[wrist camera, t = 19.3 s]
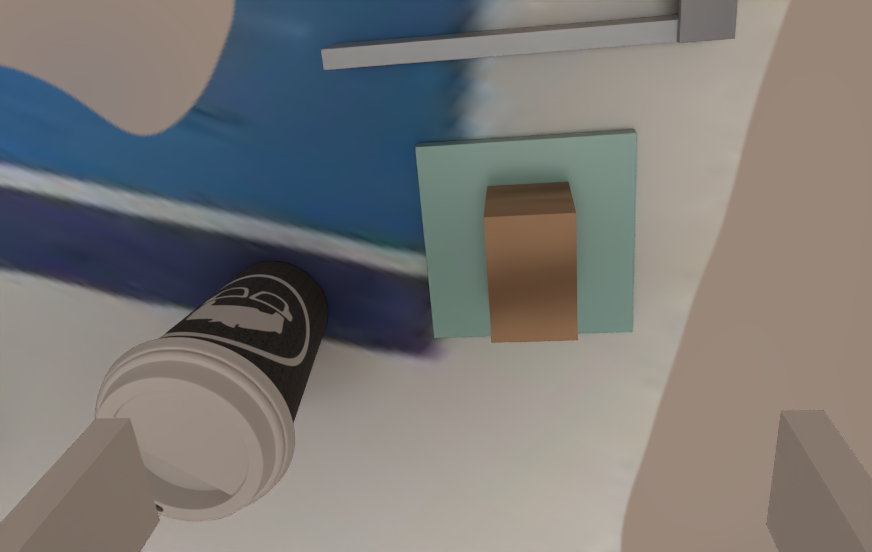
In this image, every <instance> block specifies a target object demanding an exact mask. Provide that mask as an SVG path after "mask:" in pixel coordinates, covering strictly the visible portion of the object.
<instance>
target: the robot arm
mask: <svg viewBox="0 0 872 552" xmlns="http://www.w3.org/2000/svg"><path fill="white" fill-rule="evenodd" d="M159 521H160V519H159V516H158V512H157V509H156V505H155V502H154V498H153V495H152V491H151V488H150V485H149V481H148V478H147V474H146V471H145V467H144V464H143V460H142V457H141V454H140V450H139V447H138V443H137V440H136V436H135V433H134V429H133V426H132V423H131V419H130V418H96V419H95V420H94V421H93V423H92V424H91V425H90V426H89V427H88V428H87V429H86V430H85V431H84V432H83V433H82V435H81V436H80V437H79V438H78V439H77V440H76V441H75V442H74V443H73V444H72V446H71V447H70V448H69V449H68V450H67V451H66V452H65V453H64V454H63V455H62V456H61V458H60V459H59V460H58V461H57V462H56V463H55V464H54V465H53V466H52V467H51V468H50V470H49V471H48V472H47V473H46V474H45V475H44V476H43V477H42V478H41V479H40V480H39V482H38V483H37V484H36V485H35V486H34V487H33V488H32V489H31V490H30V491H29V493H28V494H27V495H26V496H25V497H24V498H23V499H22V500H21V501H20V502H19V503H18V505H17V506H16V507H15V508H14V509H13V510H12V511H11V512H10V513H9V514H8V515H7V517H6V518H5V519H4V520H3V521H2V522H1V523H0V552H140V551H141V549H142V548H143V546H144V545H145V543H146V541H147V540H148V538H149V537H150V535H151V534H152V532H153V530H154V529H155V527H156V526H157V524H158V522H159ZM766 525H767V527H768V529H769V531H770V533H771V536H772V538H773V540H774V542H775V544H776V546H777V549H778V551H779V552H872V479H871V477H870V476H869V474H868V473H867V471H866V470H865V469H864V467H863V466H862V464H861V463H860V461H859V460H858V459H857V457H856V456H855V454H854V453H853V451H852V450H851V449H850V447H849V446H848V444H847V443H846V441H845V440H844V439H843V437H842V436H841V434H840V433H839V431H838V430H837V429H836V427H835V426H834V424H833V423H832V422H831V420H830V419H829V417H828V416H827V414H826V413H825V411H824V410H797V411H796V410H795V411H794V410H789V411H788V410H787V411H781V414H780V422H779V429H778V437H777V446H776V453H775V461H774V469H773V476H772V484H771V492H770V500H769V508H768V515H767V523H766Z"/></svg>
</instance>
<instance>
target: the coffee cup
mask: <svg viewBox="0 0 872 552" xmlns="http://www.w3.org/2000/svg"><path fill="white" fill-rule="evenodd" d="M327 320H328V306H327V302H326V299H325V296H324V294H323V292H322V290H321V288H320V287H319V285H318V284H317V283H316V281H315V280H314V279H313V278H312V277H311V276H309V275H308V274H307V273H306V272H304V271H303V270H301V269H299V268H297V267H295V266H293V265H290V264H287V263H283V262H277V261H267V262H261V263H257V264H254V265H252V266H250V267H248V268H246V269H245V270H244V271H242V272H241V273H240V274H238V275H237V276H236V277H235V278H234V279H232V280H231V281H230V282H229V283H227V284H226V285H225V286H224V287H222V288H221V289H220V290H219V291H218V292H216V293H215V294H214V295H213V296H211V297H210V298H209V299H208V300H206V301H205V302H204V303H203V304H202V305H200V306H199V307H198V308H197V309H195V310H194V311H193V312H192V313H190V314H189V315H188V316H187V317H185V318H184V319H183V320H182V321H180V322H179V323H178V324H177V325H175V326H174V327H173V328H172V329H170V330H169V331H168V332H167V333H165V334H164V335H163V336H162V337H160V338H159V339H156V340H151V341H148V342H145V343H142V344H140V345H138V346H136V347H134V348H132V349H130V350H129V351H127V352H126V353H124V354H123V355H122V356H121V357H120V358H119V359H118V360H117V361H116V362H115V363H114V364H113V365H112V367H111V368H110V370H109V371H108V373H107V375H106V377H105V379H104V381H103V383H102V385H101V388H100V391H99V394H98V398H97V403H96V410H95V419H96V418H130V419H131V423H132V426H133V429H134V433H135V436H136V440H137V443H138V447H139V450H140V454H141V457H142V460H143V464H144V467H145V471H146V474H147V478H148V481H149V485H150V488H151V491H152V495H153V498H154V502H155V505H156V509H157V512H158V514H160V515H163V516H166V517H170V518H174V519H178V520H185V521H210V520H215V519H220V518H223V517H226V516H228V515H231V514H233V513H235V512H237V511H238V510H240V509H241V508H243V507H245V506H247V505H249V504H251V503H253V502H255V501H256V500H258V499H259V498H261V497H262V496H264V495H265V494H266V493H267V492H269V491H270V490H271V489H272V488H273V487H274V486H275V485H276V484H277V483H278V482H279V480H280V479H281V478H282V477H283V475H284V474H285V472H286V471H287V469H288V467H289V465H290V462H291V460H292V456H293V452H294V446H295V432H294V425H293V423H294V420H295V417H296V414H297V411H298V408H299V405H300V402H301V399H302V396H303V393H304V390H305V387H306V384H307V381H308V378H309V375H310V372H311V369H312V366H313V363H314V360H315V357H316V354H317V351H318V348H319V345H320V342H321V339H322V336H323V333H324V330H325V327H326V324H327Z"/></svg>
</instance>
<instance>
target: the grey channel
mask: <svg viewBox="0 0 872 552" xmlns="http://www.w3.org/2000/svg"><path fill="white" fill-rule="evenodd" d="M736 14H737V0H679V6H678V15H667V16H656V17H644V18H632V19H620V20H608V21H597V22H585V23H573V24H561V25H549V26H538V27H526V28H514V29H502V30H490V31H479V32H467V33H455V34H443V35H431V36H420V37H408V38H396V39H384V40H373V41H361V42H349V43H337V44H333V45H331V46H328V47H326V48H324V49H321V53H322V60H323V67H324V70H330V69H342V68H355V67H367V66H380V65H392V64H405V63H417V62H430V61H442V60H454V59H467V58H479V57H492V56H504V55H517V54H529V53H542V52H554V51H567V50H579V49H592V48H604V47H617V46H629V45H642V44H654V43H666V42H679V43H685V42H697V41H710V40H722V39H735V28H736Z"/></svg>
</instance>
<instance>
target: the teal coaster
mask: <svg viewBox="0 0 872 552" xmlns="http://www.w3.org/2000/svg"><path fill="white" fill-rule="evenodd" d="M636 140H637V133H636V131H635V130H634V129H627V130H612V131H597V132H582V133H567V134H551V135H536V136H521V137H506V138H491V139H475V140H460V141H445V142H430V143H417V145H416V147H415V150H416V160H417V170H418V180H419V190H420V200H421V210H422V220H423V230H424V240H425V250H426V260H427V269H428V279H429V289H430V299H431V309H432V319H433V329H434V338H452V337H484V336H491V326H490V310H489V295H488V279H487V264H486V248H485V233H484V209H485V201H486V193H487V186H497V185H514V184H532V183H550V182H567V181H569V185H570V190H571V194H572V198H573V202H574V206H575V210H576V234H577V319H578V334H581V333H614V332H633V286H634V237H635V188H636Z"/></svg>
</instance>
